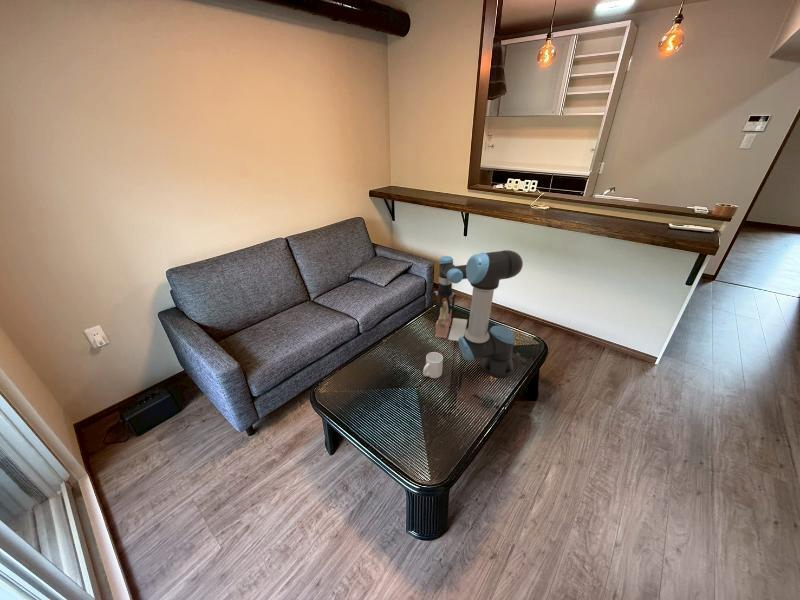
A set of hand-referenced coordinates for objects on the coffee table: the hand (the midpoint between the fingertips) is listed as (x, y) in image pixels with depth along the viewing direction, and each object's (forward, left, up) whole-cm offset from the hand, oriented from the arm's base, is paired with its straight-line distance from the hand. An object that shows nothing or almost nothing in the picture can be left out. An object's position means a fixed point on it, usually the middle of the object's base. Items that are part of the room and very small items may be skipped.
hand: (444, 317), depth 186 cm
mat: (-9, 0, -8) cm, 12 cm away
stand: (0, 0, -8) cm, 8 cm away
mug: (-1, +43, -8) cm, 44 cm away
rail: (0, 0, +2) cm, 2 cm away
